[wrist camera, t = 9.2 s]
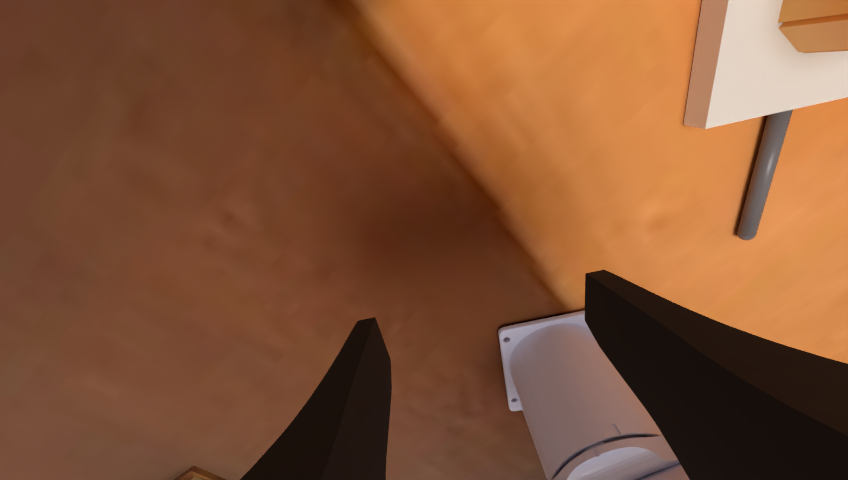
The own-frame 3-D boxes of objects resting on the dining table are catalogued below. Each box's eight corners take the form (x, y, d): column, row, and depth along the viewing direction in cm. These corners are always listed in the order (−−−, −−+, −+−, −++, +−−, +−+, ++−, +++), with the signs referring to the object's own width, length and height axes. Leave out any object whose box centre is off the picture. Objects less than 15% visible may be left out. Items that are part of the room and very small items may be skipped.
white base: (814, 220, 22) (933, 262, 17) (664, 251, 22) (737, 301, 17) (965, -179, 13) (1286, -323, 9) (719, -117, 14) (891, -220, 9)
